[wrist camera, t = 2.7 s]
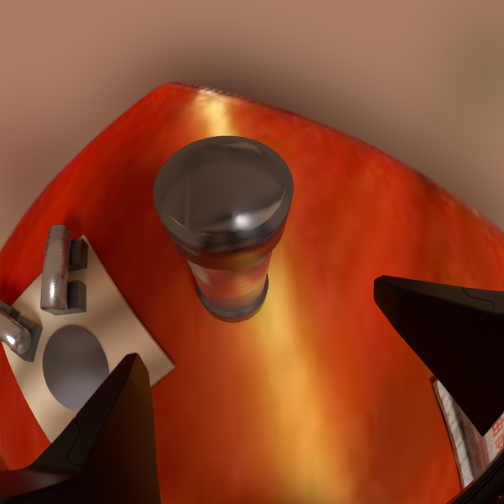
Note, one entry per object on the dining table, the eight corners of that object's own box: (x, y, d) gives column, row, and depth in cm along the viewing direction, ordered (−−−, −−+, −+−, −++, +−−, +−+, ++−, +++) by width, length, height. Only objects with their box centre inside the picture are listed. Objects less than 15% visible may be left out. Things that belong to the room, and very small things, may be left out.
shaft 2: (86, 315, 19) (61, 302, 16) (55, 318, 19) (29, 307, 15) (88, 241, 22) (69, 220, 18) (60, 248, 21) (39, 229, 18)
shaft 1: (45, 329, 18) (18, 318, 15) (35, 364, 17) (8, 358, 13) (7, 302, 19) (-16, 290, 15) (-2, 333, 17) (-26, 324, 14)
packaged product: (535, 442, 9) (486, 506, 7) (509, 442, 13) (460, 498, 11) (512, 318, 16) (461, 380, 14) (482, 330, 20) (427, 383, 18)
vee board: (176, 366, 19) (172, 365, 18) (64, 454, 14) (57, 456, 13) (87, 238, 23) (82, 232, 22) (0, 325, 18) (-6, 323, 17)
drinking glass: (270, 266, 22) (298, 145, 11) (260, 328, 20) (285, 257, 8) (209, 255, 23) (179, 131, 11) (193, 315, 20) (132, 230, 9)
